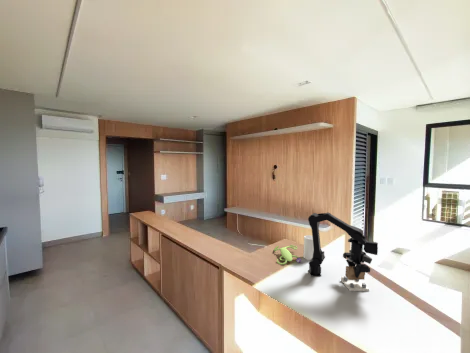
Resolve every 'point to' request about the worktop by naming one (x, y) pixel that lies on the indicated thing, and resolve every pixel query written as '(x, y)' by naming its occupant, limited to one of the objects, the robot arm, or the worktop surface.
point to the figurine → (287, 254)
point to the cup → (308, 247)
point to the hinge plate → (354, 284)
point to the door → (351, 274)
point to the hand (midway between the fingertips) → (354, 275)
